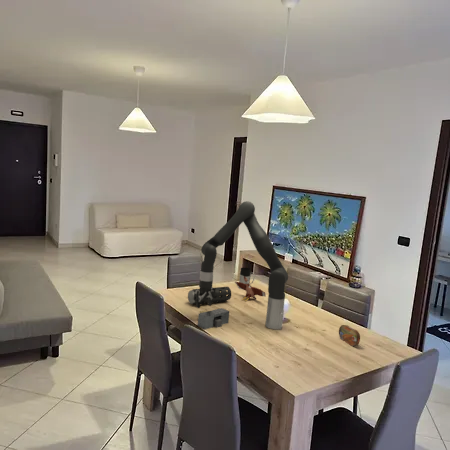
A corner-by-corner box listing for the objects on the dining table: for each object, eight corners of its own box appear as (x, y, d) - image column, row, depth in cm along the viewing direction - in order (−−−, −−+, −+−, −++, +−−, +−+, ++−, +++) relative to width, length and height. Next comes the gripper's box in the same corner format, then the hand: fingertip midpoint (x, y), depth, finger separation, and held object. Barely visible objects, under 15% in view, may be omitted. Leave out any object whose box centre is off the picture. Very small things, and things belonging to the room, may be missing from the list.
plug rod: (222, 326, 227) (223, 318, 226) (215, 327, 224) (216, 320, 223) (205, 317, 239) (206, 310, 239) (199, 318, 236) (199, 311, 236)
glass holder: (244, 286, 315) (246, 266, 314) (257, 290, 305) (259, 271, 303) (235, 287, 310) (237, 267, 308) (248, 292, 299) (250, 272, 297)
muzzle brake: (231, 303, 269) (232, 288, 268) (193, 308, 254) (195, 291, 253) (223, 299, 277) (224, 284, 276) (186, 303, 262) (187, 287, 260)
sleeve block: (228, 322, 233) (229, 311, 232) (204, 329, 220) (206, 316, 219) (220, 319, 237) (221, 308, 236) (197, 325, 224) (198, 313, 223)
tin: (337, 337, 226) (339, 322, 225) (342, 336, 227) (344, 322, 226) (355, 348, 212) (357, 333, 211) (360, 348, 213) (362, 332, 212)
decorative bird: (221, 292, 281) (229, 271, 284) (238, 298, 293) (246, 278, 296) (251, 303, 261) (260, 281, 263) (268, 310, 273) (276, 289, 275)
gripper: (210, 276, 240) (208, 302, 242) (192, 278, 230) (189, 306, 232) (219, 279, 234) (217, 306, 236) (201, 282, 224) (198, 310, 226)
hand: (203, 306), depth 234 cm, fingers open, 8 cm apart
